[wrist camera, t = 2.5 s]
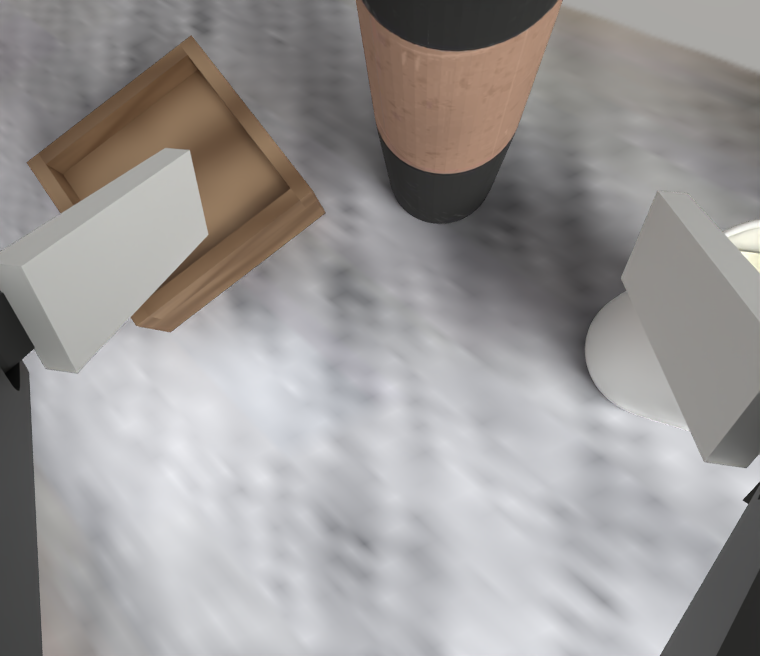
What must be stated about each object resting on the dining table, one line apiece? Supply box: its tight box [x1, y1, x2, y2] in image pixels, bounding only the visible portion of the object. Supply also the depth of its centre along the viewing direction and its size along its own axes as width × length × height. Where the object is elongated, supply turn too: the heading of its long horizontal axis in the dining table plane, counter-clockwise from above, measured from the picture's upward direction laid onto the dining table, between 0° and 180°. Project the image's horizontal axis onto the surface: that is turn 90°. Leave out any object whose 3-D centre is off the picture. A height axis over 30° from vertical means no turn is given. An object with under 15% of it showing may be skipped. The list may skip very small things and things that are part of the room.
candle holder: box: [585, 219, 760, 432], centre depth 24 cm, size 10×10×12 cm
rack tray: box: [27, 35, 325, 332], centre depth 32 cm, size 14×14×4 cm
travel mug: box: [356, 0, 563, 224], centre depth 23 cm, size 8×8×20 cm
